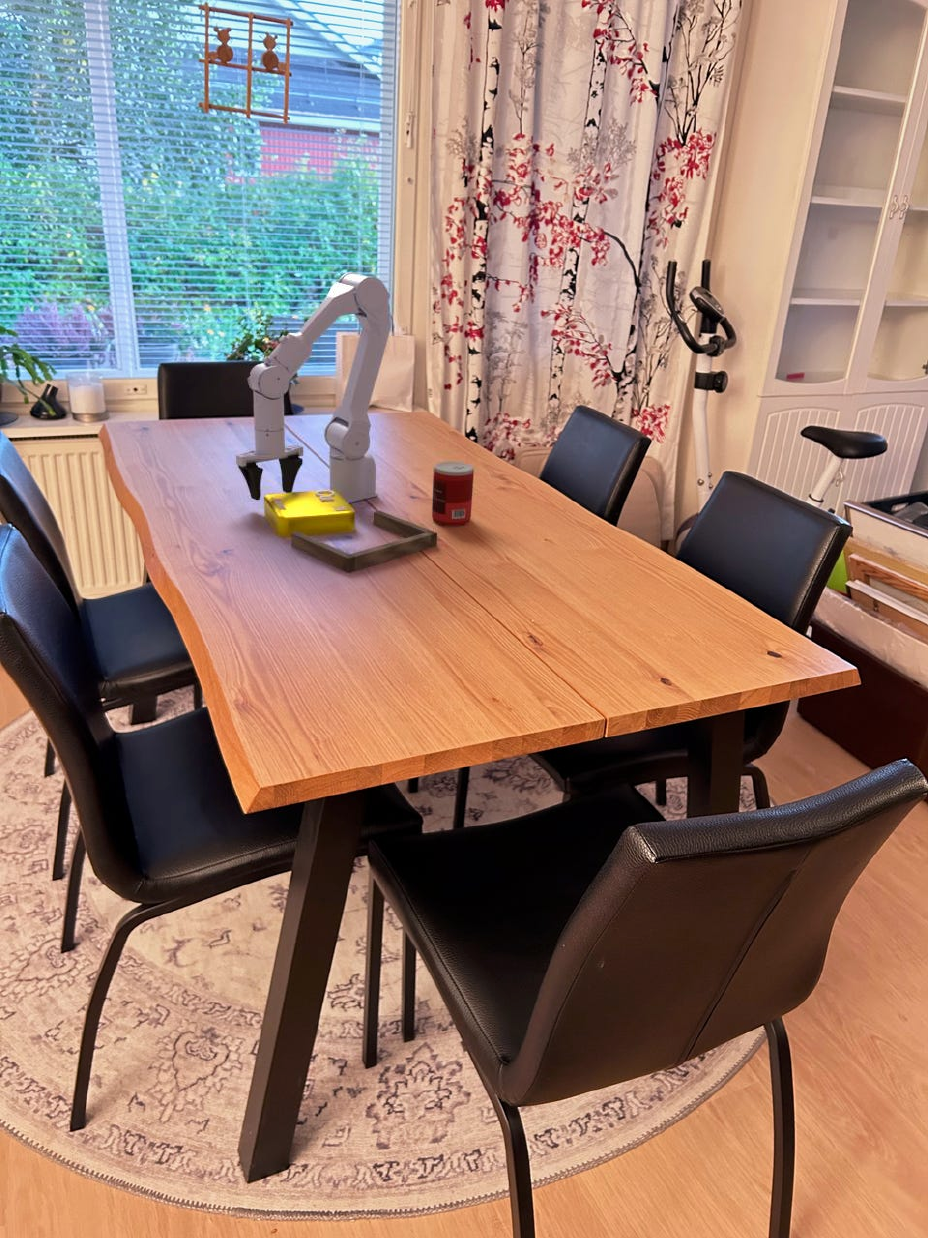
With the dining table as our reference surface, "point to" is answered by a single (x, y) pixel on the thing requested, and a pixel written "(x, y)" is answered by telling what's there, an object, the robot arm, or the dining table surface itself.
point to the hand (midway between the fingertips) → (271, 495)
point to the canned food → (452, 493)
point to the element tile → (309, 513)
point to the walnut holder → (412, 543)
